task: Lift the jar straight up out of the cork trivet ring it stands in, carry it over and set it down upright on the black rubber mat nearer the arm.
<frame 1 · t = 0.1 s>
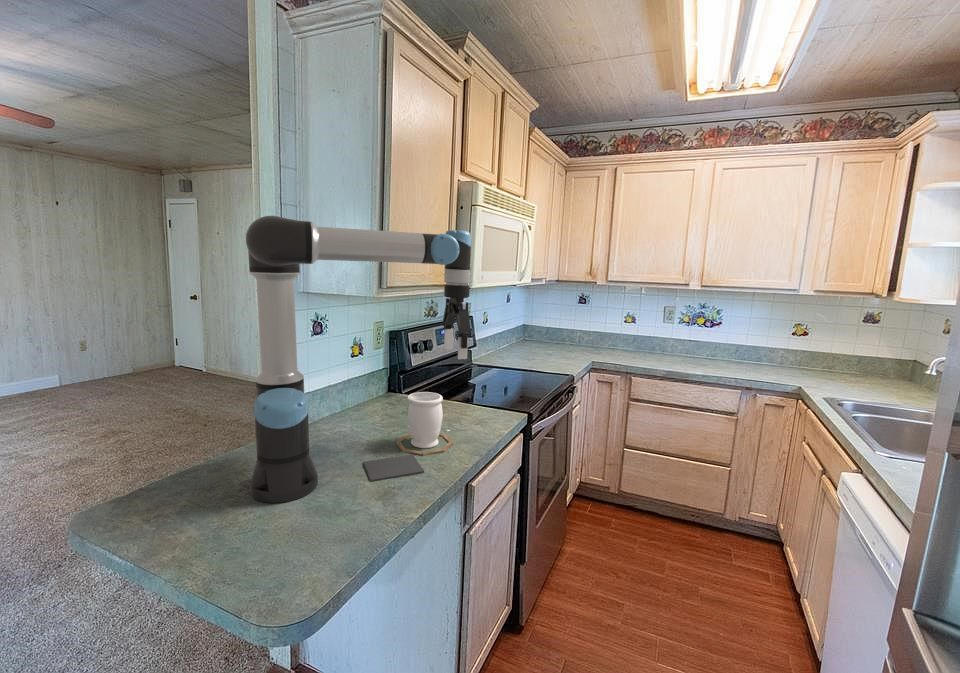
hand: (455, 354, 138), 28 cm above the countertop, fingers open, 13 cm apart
jar: (424, 443, 140), resting in cork ring
cork ring: (424, 443, 140), on the countertop
mat: (393, 468, 123), on the countertop
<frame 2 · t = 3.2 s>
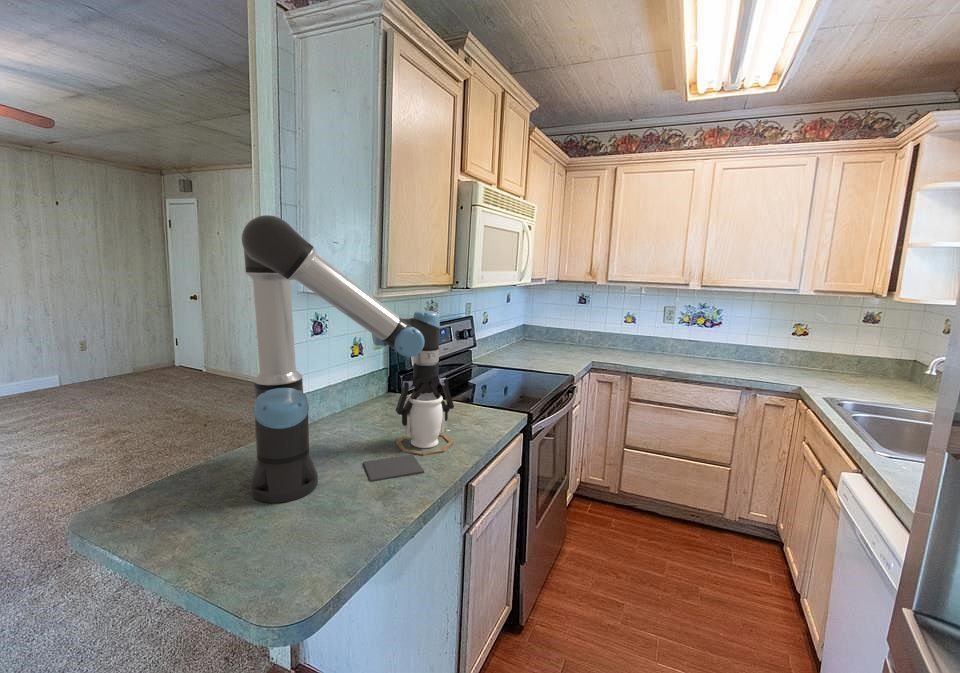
hand: (424, 432, 139), 3 cm above the countertop, fingers closed on jar, 10 cm apart
jar: (424, 443, 140), resting in cork ring, touching gripper
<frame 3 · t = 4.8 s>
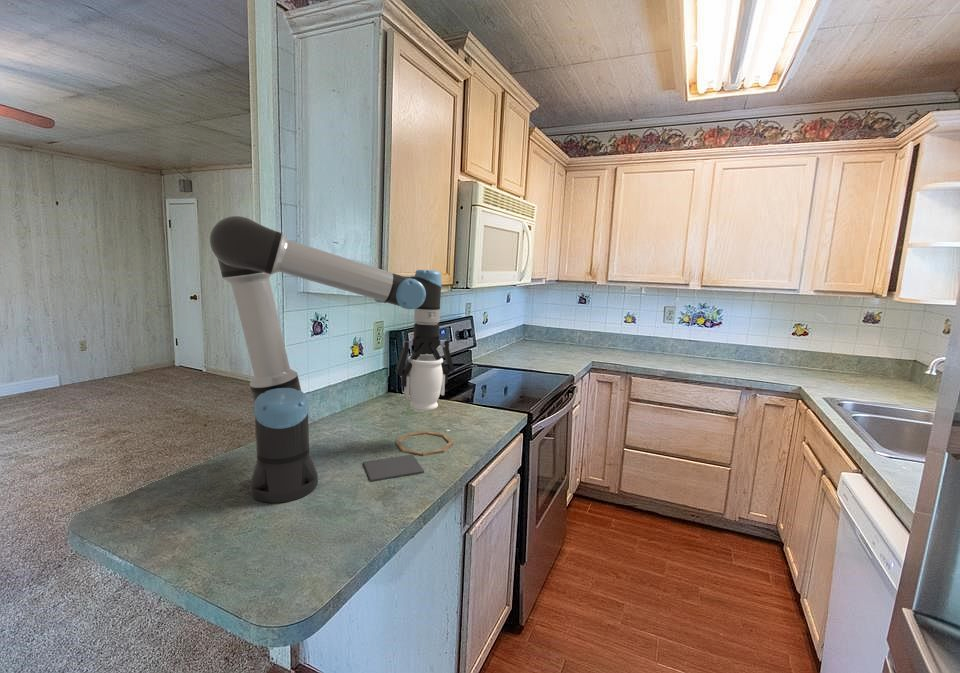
hand: (424, 395, 137), 15 cm above the countertop, fingers closed on jar, 10 cm apart
jar: (424, 406, 138), point 12 cm above the countertop, touching gripper
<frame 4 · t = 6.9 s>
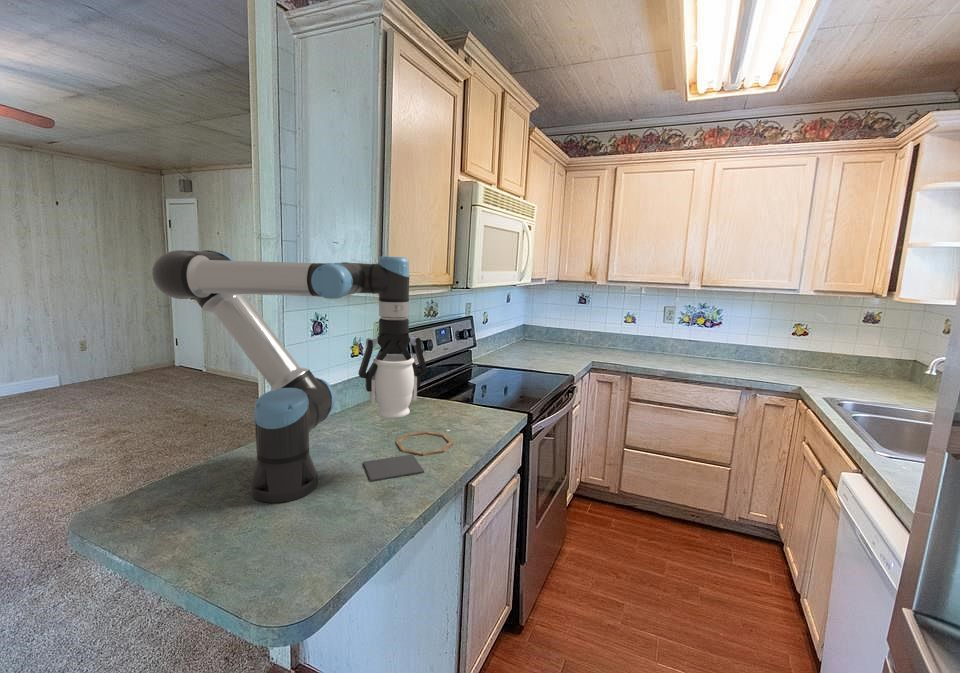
hand: (393, 400, 120), 19 cm above the countertop, fingers closed on jar, 10 cm apart
jar: (393, 413, 120), point 15 cm above the countertop, touching gripper
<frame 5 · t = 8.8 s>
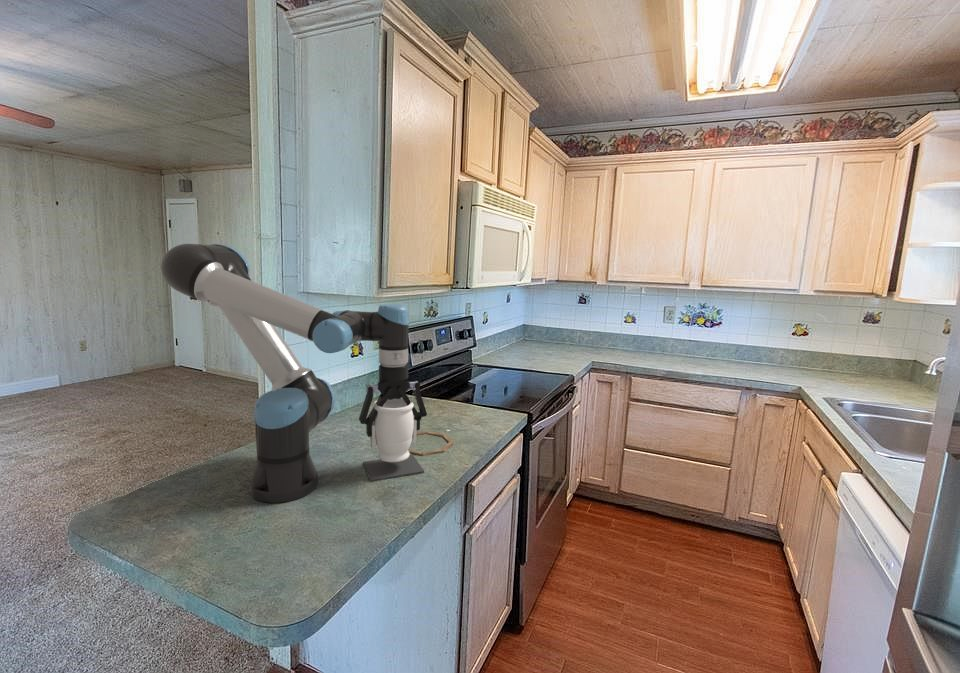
hand: (393, 444, 122), 7 cm above the countertop, fingers closed on jar, 10 cm apart
jar: (393, 456, 122), point 3 cm above the countertop, touching gripper
when the fingers open (5 cm above the countertop, at t = 10.3 s): jar stays where it is, resting on mat.
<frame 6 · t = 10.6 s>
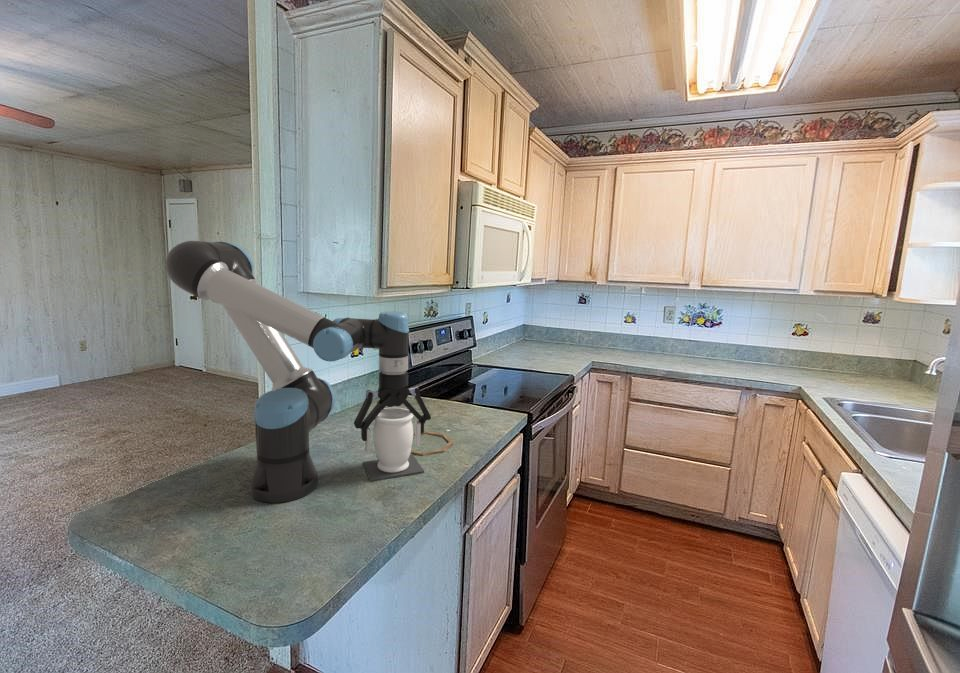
hand: (393, 448, 122), 6 cm above the countertop, fingers open, 13 cm apart
jar: (393, 466, 123), resting on mat
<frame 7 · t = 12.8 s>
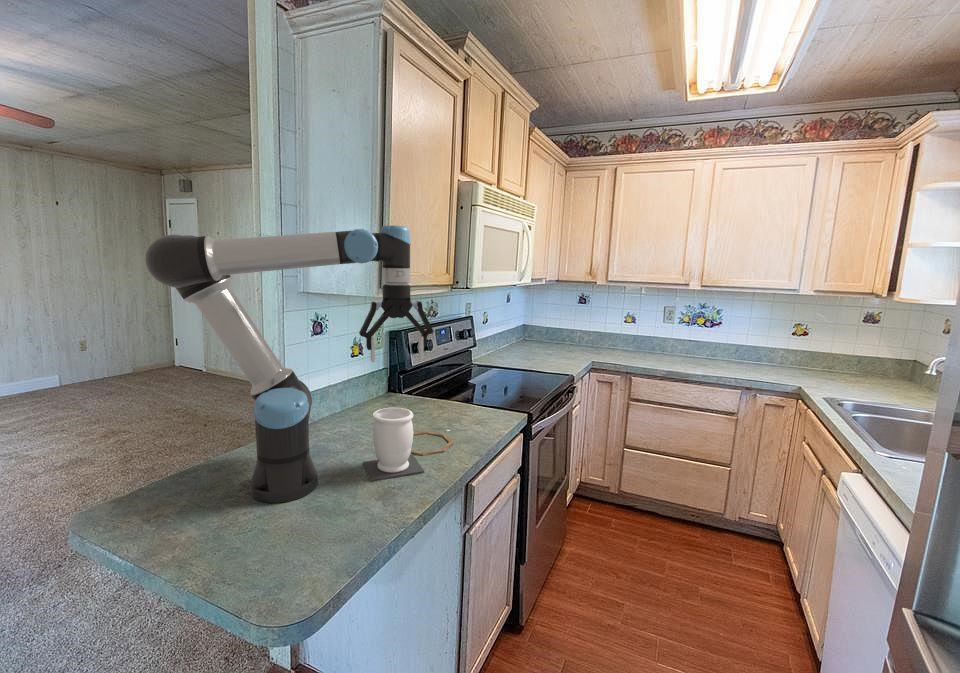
hand: (397, 359, 128), 28 cm above the countertop, fingers open, 13 cm apart
nothing on the countertop moved.
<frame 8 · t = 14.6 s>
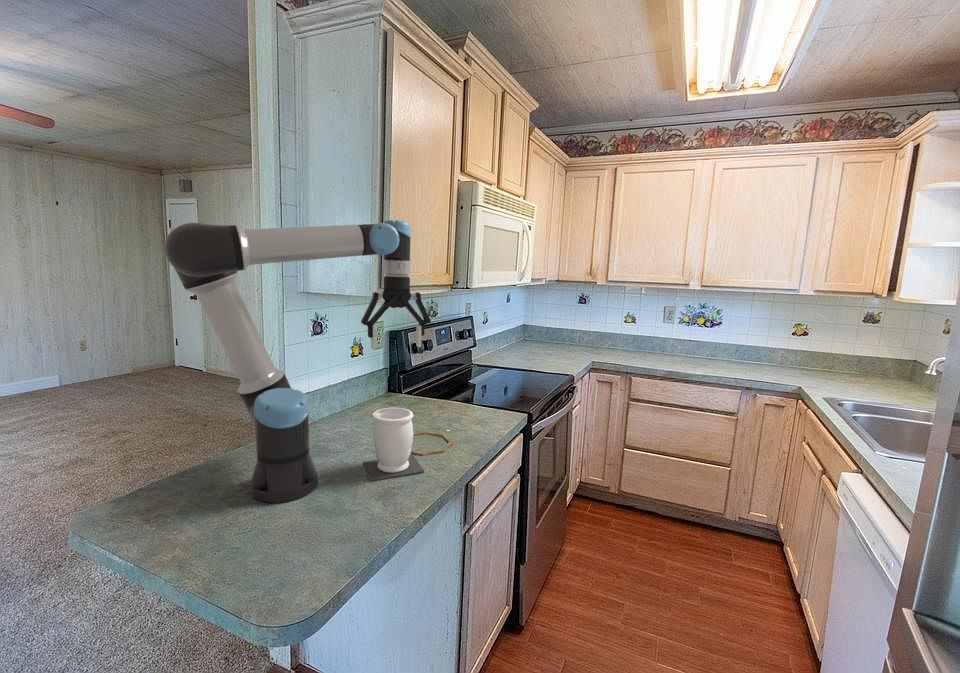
hand: (396, 347, 135), 30 cm above the countertop, fingers open, 13 cm apart
nothing on the countertop moved.
at the end: jar inside the target area on the mat (0.0 cm from its centre), point 0.3 cm above the mat's base; jar tilted 0°; the gripper is holding nothing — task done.
